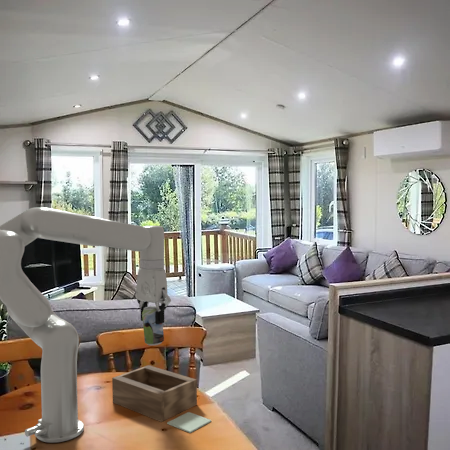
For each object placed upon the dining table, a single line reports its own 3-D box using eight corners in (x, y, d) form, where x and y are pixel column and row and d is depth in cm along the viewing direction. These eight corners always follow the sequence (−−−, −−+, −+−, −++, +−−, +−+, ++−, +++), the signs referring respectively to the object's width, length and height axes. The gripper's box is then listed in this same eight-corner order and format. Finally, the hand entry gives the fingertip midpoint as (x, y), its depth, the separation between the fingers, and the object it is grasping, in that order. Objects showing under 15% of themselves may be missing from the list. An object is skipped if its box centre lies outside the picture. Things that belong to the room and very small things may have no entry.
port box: (161, 421, 139) (160, 394, 139) (112, 402, 154) (112, 377, 153) (196, 404, 151) (196, 379, 151) (148, 388, 165) (148, 365, 165)
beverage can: (162, 348, 148) (164, 309, 147) (138, 346, 148) (140, 308, 147) (165, 342, 154) (167, 305, 154) (142, 340, 154) (144, 303, 154)
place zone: (190, 433, 132) (190, 431, 132) (167, 423, 138) (167, 422, 138) (211, 421, 139) (211, 420, 139) (188, 413, 145) (188, 411, 145)
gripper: (125, 263, 153) (125, 319, 154) (162, 268, 142) (162, 328, 143) (142, 261, 159) (143, 315, 160) (180, 265, 148) (180, 323, 149)
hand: (152, 321), depth 151 cm, fingers closed on beverage can, 6 cm apart
